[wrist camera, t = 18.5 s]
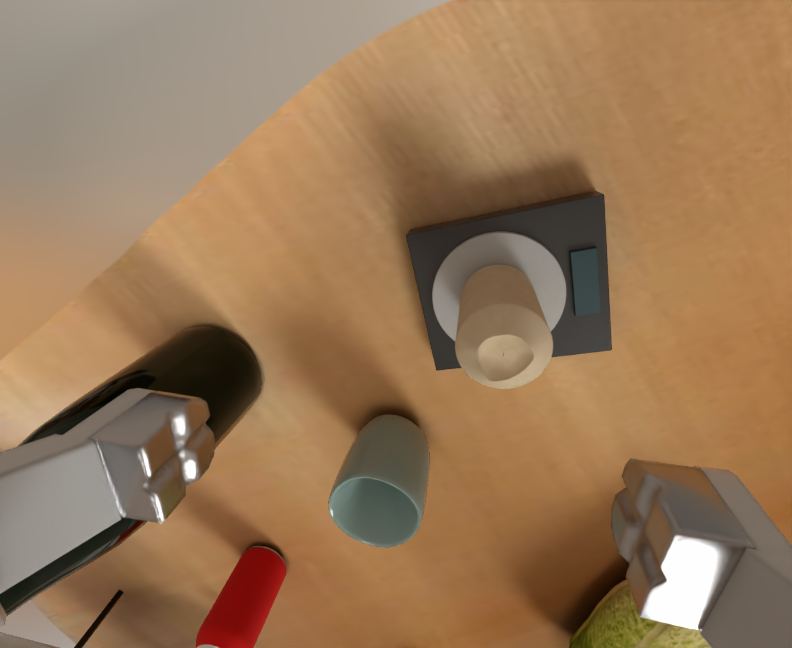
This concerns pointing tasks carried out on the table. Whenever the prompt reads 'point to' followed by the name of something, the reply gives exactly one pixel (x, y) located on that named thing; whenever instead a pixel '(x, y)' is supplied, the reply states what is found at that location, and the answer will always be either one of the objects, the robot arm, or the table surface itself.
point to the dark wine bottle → (160, 371)
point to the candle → (502, 329)
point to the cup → (382, 483)
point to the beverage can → (244, 601)
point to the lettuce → (630, 627)
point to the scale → (521, 269)
